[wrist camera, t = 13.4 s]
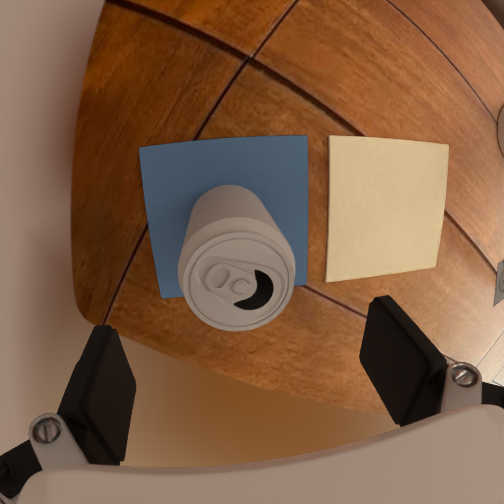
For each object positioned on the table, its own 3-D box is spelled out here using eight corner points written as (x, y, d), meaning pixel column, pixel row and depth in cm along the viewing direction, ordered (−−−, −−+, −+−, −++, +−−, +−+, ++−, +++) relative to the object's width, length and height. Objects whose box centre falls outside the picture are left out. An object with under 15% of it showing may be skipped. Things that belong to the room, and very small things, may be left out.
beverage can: (242, 265, 28) (261, 352, 17) (177, 234, 26) (155, 309, 15) (279, 205, 26) (326, 262, 15) (213, 169, 25) (212, 200, 14)
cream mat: (324, 280, 30) (326, 282, 30) (328, 135, 25) (329, 135, 25) (433, 265, 32) (435, 267, 31) (446, 144, 26) (449, 144, 26)
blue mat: (161, 296, 29) (161, 298, 28) (139, 147, 24) (138, 147, 23) (305, 282, 30) (306, 284, 30) (306, 135, 25) (307, 135, 24)
